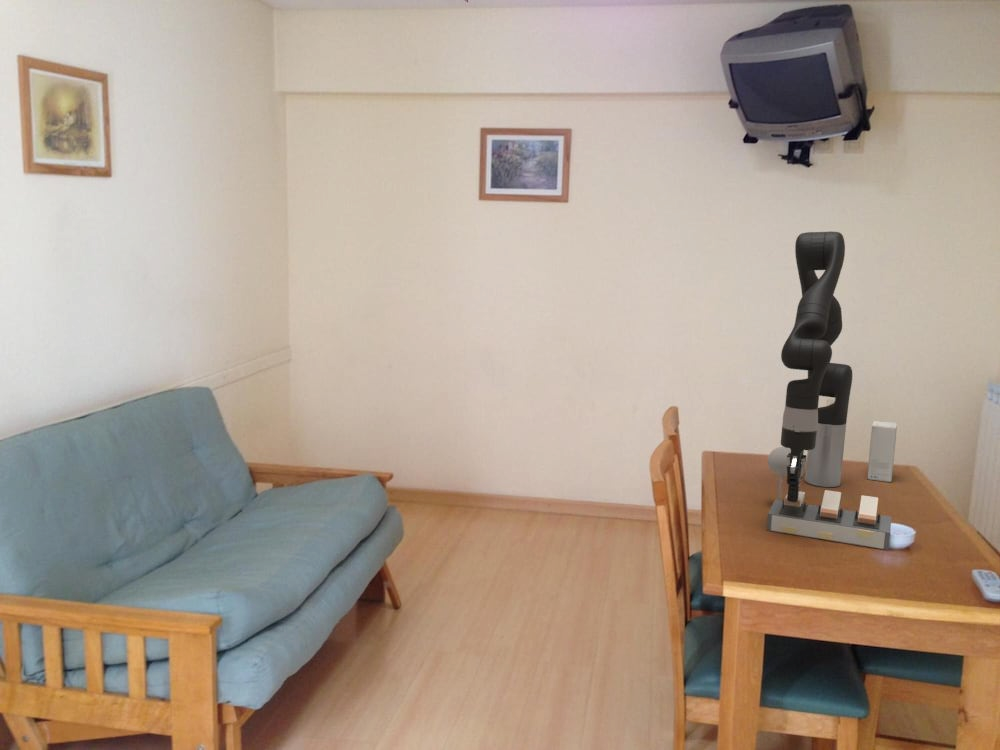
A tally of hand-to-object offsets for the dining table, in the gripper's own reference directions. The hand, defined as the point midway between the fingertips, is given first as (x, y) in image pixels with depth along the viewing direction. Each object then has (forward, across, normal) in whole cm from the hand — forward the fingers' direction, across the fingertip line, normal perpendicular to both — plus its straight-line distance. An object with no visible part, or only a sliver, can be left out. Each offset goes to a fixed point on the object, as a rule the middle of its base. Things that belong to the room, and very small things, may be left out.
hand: (792, 500), depth 207 cm
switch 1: (+1, -4, 0) cm, 4 cm away
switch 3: (+1, -4, +16) cm, 17 cm away
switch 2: (+1, -4, +8) cm, 9 cm away
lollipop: (+7, -20, -5) cm, 21 cm away
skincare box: (+6, -60, +17) cm, 63 cm away
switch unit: (+7, -4, +8) cm, 12 cm away
